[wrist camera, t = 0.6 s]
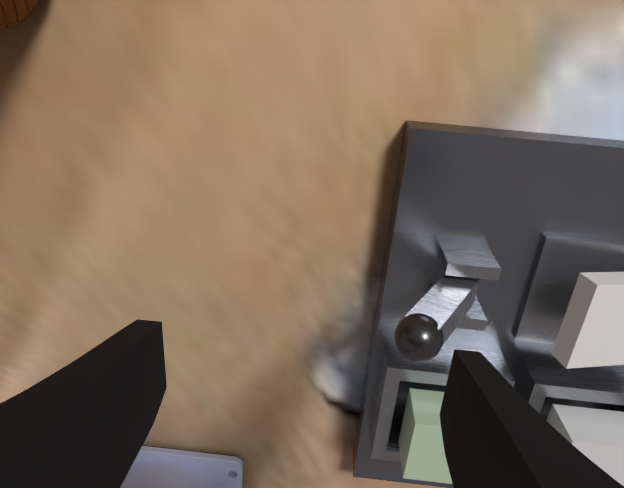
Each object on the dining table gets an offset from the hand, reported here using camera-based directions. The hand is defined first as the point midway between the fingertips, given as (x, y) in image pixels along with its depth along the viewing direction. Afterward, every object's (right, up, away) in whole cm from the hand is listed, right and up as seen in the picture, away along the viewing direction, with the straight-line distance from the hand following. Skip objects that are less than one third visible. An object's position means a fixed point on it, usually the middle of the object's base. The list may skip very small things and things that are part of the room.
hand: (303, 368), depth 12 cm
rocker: (+12, 0, +6) cm, 14 cm away
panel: (+9, -1, +11) cm, 14 cm away
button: (+6, -5, +9) cm, 12 cm away
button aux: (+12, -5, +9) cm, 16 cm away
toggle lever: (+6, +1, +8) cm, 10 cm away
